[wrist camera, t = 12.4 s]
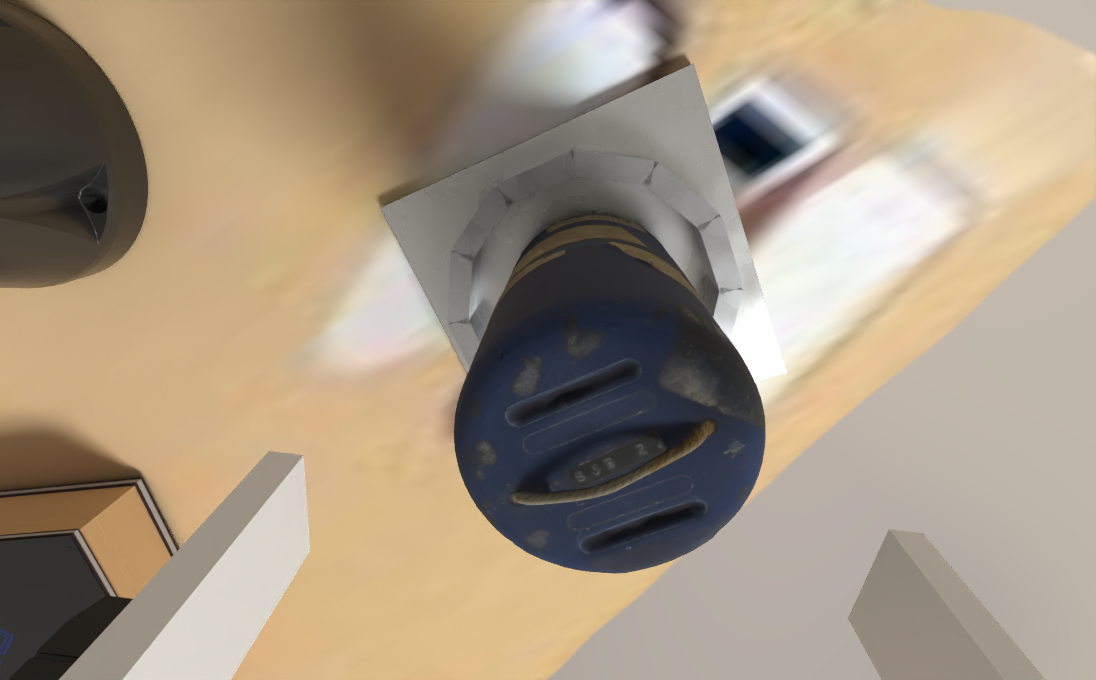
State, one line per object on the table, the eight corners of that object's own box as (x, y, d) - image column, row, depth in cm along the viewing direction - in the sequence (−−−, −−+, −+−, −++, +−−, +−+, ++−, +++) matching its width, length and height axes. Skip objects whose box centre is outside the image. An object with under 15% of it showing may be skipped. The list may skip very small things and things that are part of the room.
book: (235, 642, 45) (180, 723, 39) (-22, 656, 48) (-111, 734, 42) (150, 471, 39) (69, 535, 33) (-140, 498, 42) (-264, 563, 36)
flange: (384, 206, 30) (363, 214, 28) (691, 64, 27) (704, 57, 24) (515, 457, 36) (509, 486, 33) (782, 367, 33) (801, 391, 30)
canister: (495, 225, 30) (385, 352, 13) (666, 191, 29) (783, 284, 12) (531, 378, 33) (480, 633, 17) (685, 354, 32) (798, 601, 15)
